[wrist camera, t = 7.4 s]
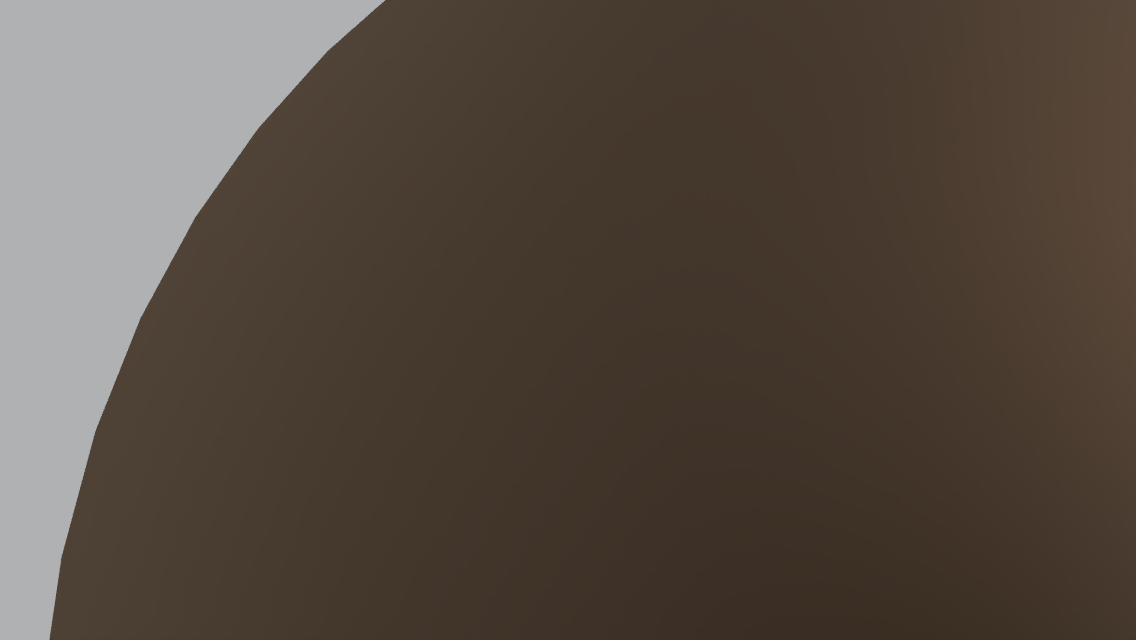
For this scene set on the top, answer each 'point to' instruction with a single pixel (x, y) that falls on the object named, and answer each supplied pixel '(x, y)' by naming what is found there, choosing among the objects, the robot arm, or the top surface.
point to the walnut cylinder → (646, 337)
